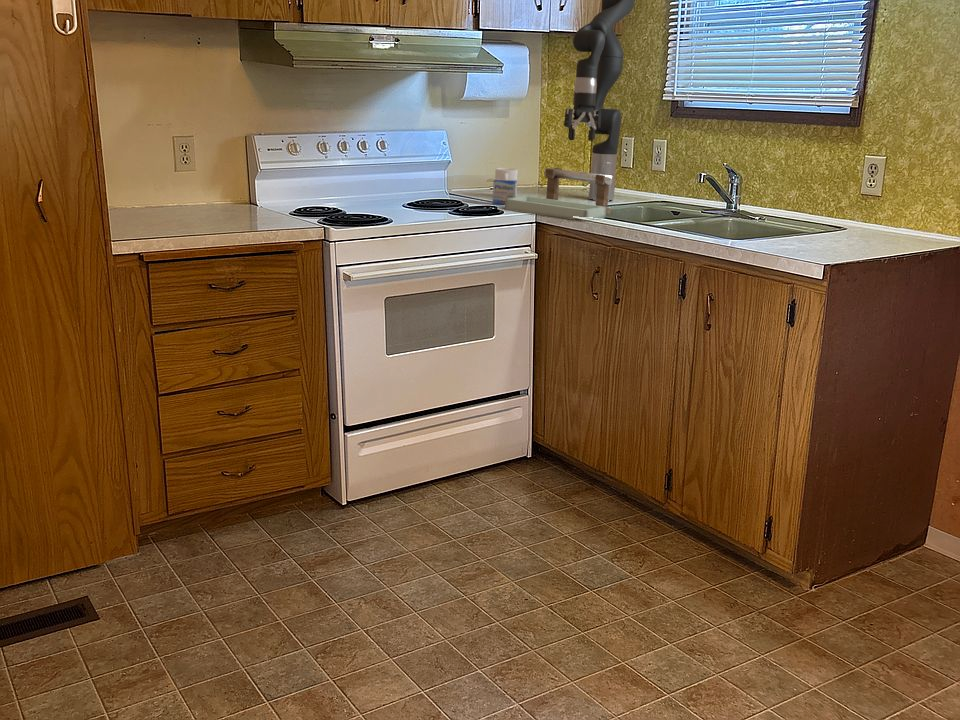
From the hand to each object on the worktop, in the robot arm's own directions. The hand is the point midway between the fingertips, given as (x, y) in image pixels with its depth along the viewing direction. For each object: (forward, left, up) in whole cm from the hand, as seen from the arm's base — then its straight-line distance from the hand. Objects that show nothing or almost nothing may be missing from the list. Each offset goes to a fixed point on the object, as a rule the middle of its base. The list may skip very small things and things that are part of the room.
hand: (581, 140), depth 320 cm
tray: (+18, +2, -23) cm, 29 cm away
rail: (+4, +2, -13) cm, 14 cm away
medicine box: (+15, -21, -24) cm, 35 cm away
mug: (0, -31, -23) cm, 39 cm away
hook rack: (+4, +2, -23) cm, 24 cm away
